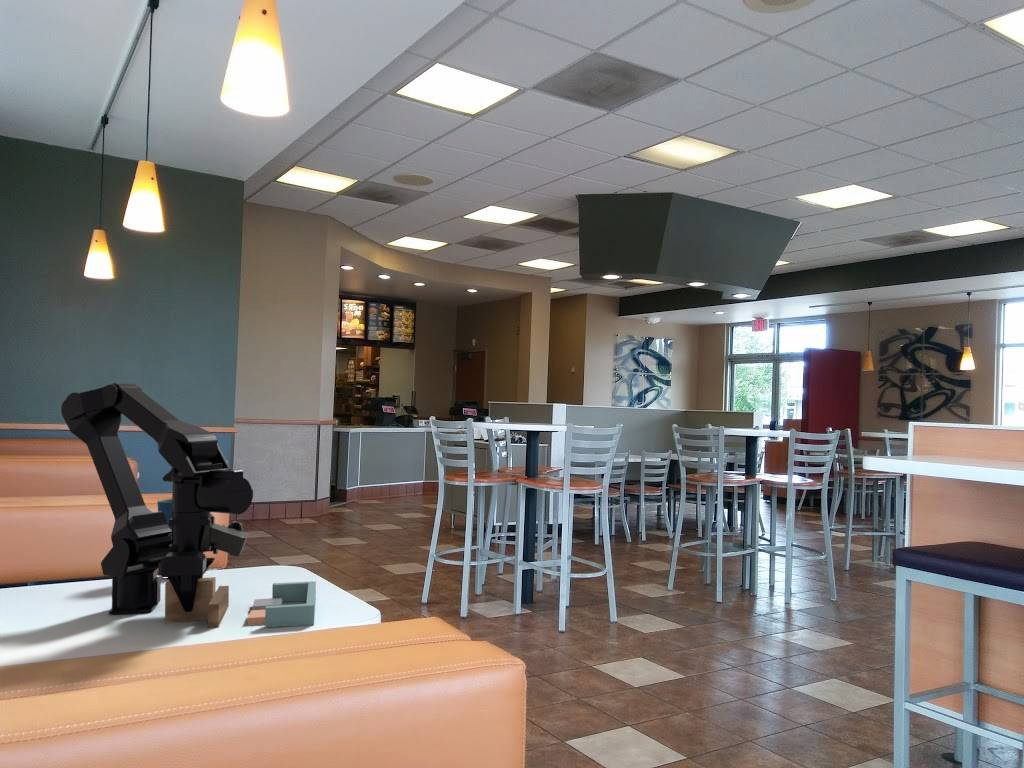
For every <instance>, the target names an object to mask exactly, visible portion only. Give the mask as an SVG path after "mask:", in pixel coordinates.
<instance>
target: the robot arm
mask: <svg viewBox="0 0 1024 768" xmlns="http://www.w3.org/2000/svg"><path fill="white" fill-rule="evenodd" d="M60 411H61V416H62V418H63V420H64V422H65V424H66V426H67V427H68V429H69V432H71V434H73V435H74V436H75V437H77V438H78V439H79V440H80V441H81V442H83V443H84V444H85V445H86V447H87V449H88V451H89V454H90V457H91V459H92V462H93V464H94V467H95V469H96V472H97V475H98V477H99V480H100V483H101V486H102V489H103V491H104V494H105V496H106V499H107V501H108V504H109V507H110V509H111V511H112V515H113V517H114V524H113V527H112V531H111V536H110V539H111V544H112V547H111V549H110V550H109V551H108V552H107V554H106V555H105V556H104V558H103V559H102V560H101V562H100V567H101V571H102V574H103V575H102V576H108V577H111V585H112V586H111V608H110V609H109V610H108V614H109V615H113V614H115V615H117V614H133V613H134V614H137V613H150V612H152V611H154V609H155V608H156V607H157V606H158V605H159V604H160V602H161V580H162V579H161V578H162V576H167V577H168V579H167V580H169V581H170V582H171V584H172V586H173V588H174V590H175V592H176V594H177V596H178V598H179V600H180V603H181V605H182V607H183V609H184V611H185V612H191V611H192V610H193V606H194V601H195V596H196V590H197V585H198V579H199V578H204V574H205V573H207V570H209V568H210V566H211V565H212V564H213V562H214V561H215V560H216V558H215V557H207V556H206V555H207V554H206V552H209V553H210V552H212V554H213V555H218V554H219V552H220V551H222V552H225V553H228V554H229V555H230V556H233V557H240V556H241V554H242V552H243V550H244V548H245V545H246V543H247V539H248V536H249V533H248V532H246V531H244V527H243V523H242V522H239V521H236V520H233V521H232V522H230V524H228V526H226V525H225V524H222V525H220V524H217V523H216V522H215V520H216V518H215V515H213V513H217V514H229V515H242V514H243V513H245V512H246V511H247V510H248V509H249V508H250V507H251V504H252V501H253V497H254V490H253V489H252V486H251V483H250V481H249V480H248V479H246V478H245V477H244V470H243V469H232V468H231V466H230V463H229V462H228V460H227V458H226V456H225V455H224V452H223V451H222V449H221V447H220V446H219V445H220V444H218V441H219V440H218V439H217V437H216V436H215V434H213V432H210V431H209V430H206V429H204V428H202V427H201V426H198V425H193V424H191V423H186V422H184V421H181V420H179V419H178V418H177V417H176V416H175V415H173V414H172V413H171V412H170V411H168V410H167V409H166V408H164V407H163V405H161V404H159V403H158V402H156V401H155V400H154V399H153V398H152V397H151V396H149V395H148V394H146V393H145V392H144V391H143V390H142V388H141V387H140V386H139V385H137V384H136V383H129V382H128V383H127V382H126V383H125V382H122V383H121V382H113V383H110V384H107V385H104V386H102V387H99V388H95V389H91V390H90V389H89V390H86V391H83V392H78V391H77V392H71V393H69V395H68V396H67V397H66V398H65V400H64V401H62V403H61V410H60ZM122 415H123V416H124V417H125V418H127V419H128V420H129V421H130V422H131V423H133V424H134V425H135V426H137V427H138V428H139V429H140V430H142V431H143V432H144V433H145V434H147V435H148V436H149V437H150V438H152V439H153V440H154V441H155V442H156V443H157V447H158V448H157V449H158V453H159V455H160V456H161V457H162V458H163V459H164V460H165V462H166V463H167V464H168V465H169V466H170V467H171V469H170V470H169V471H168V472H167V473H166V474H165V475H164V476H163V477H162V481H163V482H167V483H168V482H170V483H171V484H172V486H171V487H172V488H171V489H172V491H171V492H172V493H171V495H172V496H171V498H172V518H171V519H169V526H172V530H171V529H170V528H169V526H168V524H167V521H166V517H165V515H164V514H163V512H162V511H160V512H158V511H154V512H153V511H151V509H149V508H148V507H147V505H146V502H145V500H144V497H143V496H142V493H141V490H140V488H139V485H138V483H137V480H136V477H135V475H134V472H133V470H132V467H131V465H130V462H129V459H128V457H127V455H126V452H125V450H124V447H123V444H122V442H121V439H120V436H119V430H120V427H121V423H122ZM170 533H172V538H171V535H170Z"/></svg>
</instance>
